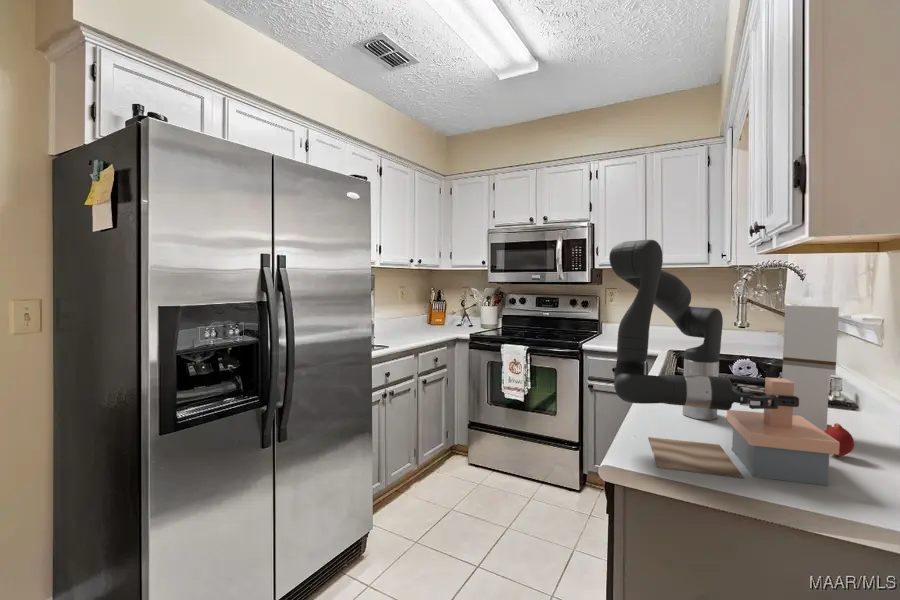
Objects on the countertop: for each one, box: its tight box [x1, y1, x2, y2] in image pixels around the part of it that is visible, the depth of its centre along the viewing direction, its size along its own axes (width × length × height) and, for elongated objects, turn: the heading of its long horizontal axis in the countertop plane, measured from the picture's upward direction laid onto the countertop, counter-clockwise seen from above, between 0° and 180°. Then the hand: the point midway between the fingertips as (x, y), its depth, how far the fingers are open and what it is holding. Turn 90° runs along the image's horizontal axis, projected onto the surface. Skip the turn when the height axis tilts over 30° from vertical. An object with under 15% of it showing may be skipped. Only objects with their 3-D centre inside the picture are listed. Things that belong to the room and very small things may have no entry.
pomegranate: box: [824, 422, 855, 458], centre depth 103 cm, size 6×6×8 cm
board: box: [647, 436, 744, 479], centre depth 103 cm, size 18×16×1 cm
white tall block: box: [781, 303, 840, 431], centre depth 117 cm, size 11×11×35 cm
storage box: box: [731, 426, 830, 486], centre depth 98 cm, size 15×13×8 cm
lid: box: [726, 377, 840, 455], centre depth 97 cm, size 17×15×12 cm
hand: (793, 398), depth 96 cm, fingers closed on lid, 4 cm apart
